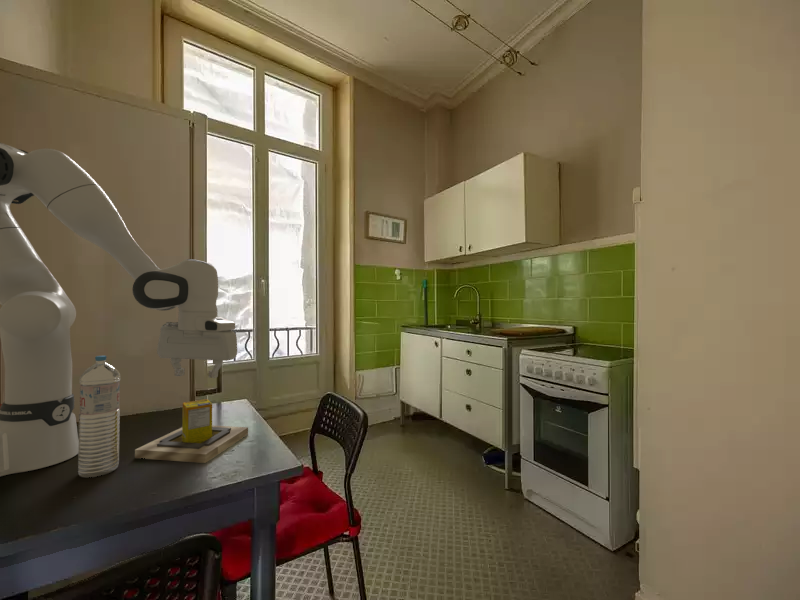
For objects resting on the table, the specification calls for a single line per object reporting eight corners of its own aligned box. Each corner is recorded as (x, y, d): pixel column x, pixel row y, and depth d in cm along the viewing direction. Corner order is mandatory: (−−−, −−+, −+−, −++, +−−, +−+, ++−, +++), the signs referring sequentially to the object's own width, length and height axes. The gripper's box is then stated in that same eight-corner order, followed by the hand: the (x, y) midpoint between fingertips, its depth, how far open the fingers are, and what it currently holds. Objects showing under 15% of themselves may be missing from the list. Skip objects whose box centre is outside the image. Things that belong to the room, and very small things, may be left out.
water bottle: (87, 466, 80) (89, 354, 80) (124, 462, 82) (125, 353, 82) (70, 481, 74) (73, 359, 74) (111, 476, 76) (113, 357, 76)
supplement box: (206, 438, 97) (207, 398, 97) (212, 445, 92) (212, 403, 92) (181, 444, 93) (182, 402, 93) (185, 451, 88) (186, 407, 89)
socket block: (134, 458, 85) (135, 447, 85) (188, 431, 102) (189, 422, 102) (205, 463, 82) (205, 452, 82) (248, 434, 100) (248, 425, 100)
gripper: (151, 322, 91) (149, 376, 91) (227, 324, 88) (225, 380, 88) (170, 321, 97) (168, 372, 97) (241, 323, 95) (239, 376, 94)
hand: (196, 376), depth 92 cm, fingers open, 8 cm apart
